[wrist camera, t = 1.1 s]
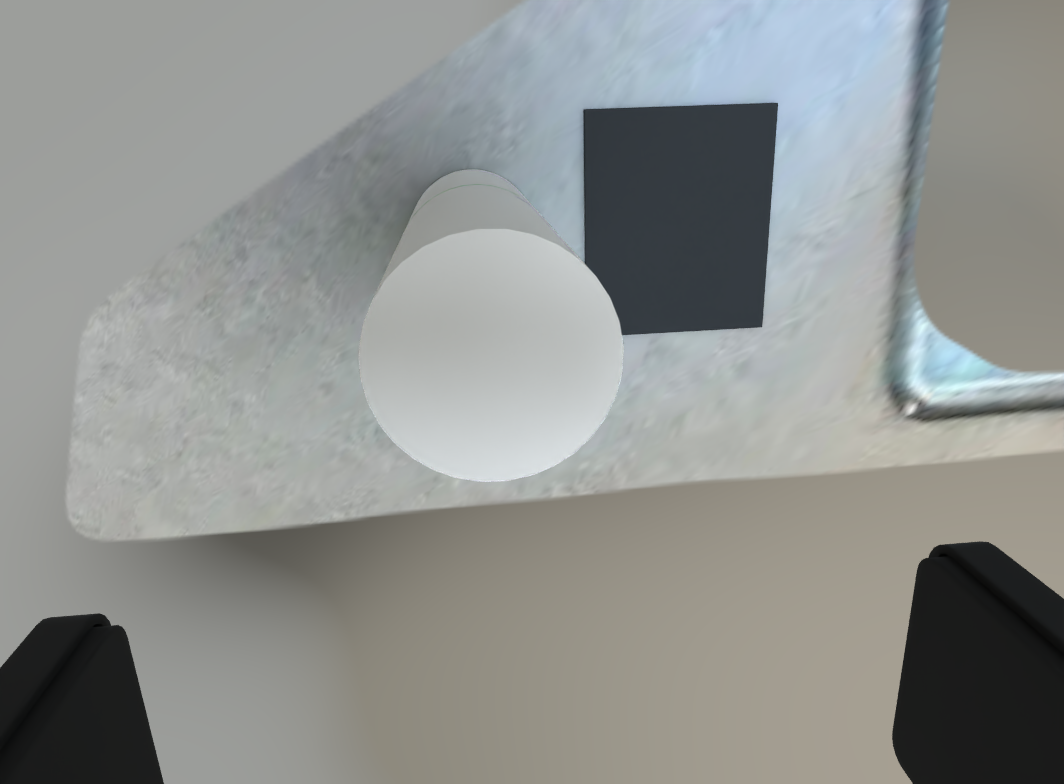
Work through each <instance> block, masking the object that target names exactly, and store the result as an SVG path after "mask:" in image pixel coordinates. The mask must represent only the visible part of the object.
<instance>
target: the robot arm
mask: <svg viewBox="0 0 1064 784" xmlns="http://www.w3.org/2000/svg"><path fill="white" fill-rule="evenodd" d="M910 614H911V615H910V620H909V627H908V633H907V640H906V647H905V653H904V660H903V666H902V673H901V680H900V686H899V692H898V699H897V706H896V712H895V719H894V726H893V734H892V735H893V736H892V740H893V747H894V750H895V754H896V756H897V759H898V761H899V763H900V765H901V767H902V768H903V770H904V771H905V773H906V774H907V776H908V777H909V778H910V780H911V781H912V783H913V784H1064V599H1063V598H1062V597H1061V596H1059V595H1058V594H1057V593H1055V592H1054V591H1053V590H1052V589H1050V588H1049V587H1048V586H1046V585H1045V584H1044V583H1042V582H1041V581H1040V580H1039V579H1037V578H1036V577H1035V576H1033V575H1032V574H1031V573H1029V572H1028V571H1027V570H1026V569H1024V568H1023V567H1022V566H1021V565H1019V564H1018V563H1017V562H1015V561H1014V560H1013V559H1011V558H1010V557H1009V556H1007V555H1006V554H1005V553H1004V552H1002V551H1001V550H1000V549H999V548H997V547H996V546H994V545H992V544H991V543H989V542H969V543H957V544H945V545H938V546H936V547H935V548H934V549H933V550H932V551H931V553H930V555H929V558H925V559H923V560H922V561H921V562H920V563H919V565H918V569H917V574H916V581H915V587H914V594H913V601H912V607H911V613H910ZM0 784H164V783H163V778H162V775H161V770H160V766H159V762H158V758H157V754H156V750H155V746H154V742H153V738H152V735H151V730H150V726H149V722H148V718H147V714H146V710H145V706H144V702H143V698H142V694H141V690H140V686H139V682H138V678H137V674H136V670H135V666H134V662H133V658H132V654H131V650H130V645H129V641H128V637H127V635H126V632H125V630H124V629H123V628H122V627H121V626H119V625H114V626H111V624H110V621H109V620H108V619H107V618H106V616H105V615H102V614H88V615H76V616H63V617H51V618H47V619H43V620H42V621H41V622H40V623H38V624H37V625H36V626H35V628H34V629H33V630H32V631H31V632H30V634H29V635H28V636H27V637H26V638H25V639H24V641H23V642H22V643H21V644H20V646H18V648H17V649H16V650H15V651H14V652H13V654H12V655H11V656H10V657H9V658H8V659H7V661H6V662H5V663H4V664H3V665H2V667H1V668H0Z"/></svg>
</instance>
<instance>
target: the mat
mask: <svg viewBox="0 0 1064 784" xmlns="http://www.w3.org/2000/svg"><path fill="white" fill-rule="evenodd" d="M777 110H778V103H763V104H734V105H704V106H674V107H645V108H615V109H586V110H584V181H585V265H586V266H587V267H588V268H589V269H590V270H591V271H592V272H593V273H594V275H595V276H596V277H597V278H598V280H599V281H600V283H601V284H602V286H603V287H604V289H605V291H606V292H607V294H608V295H609V297H610V299H611V301H612V304H613V306H614V309H615V311H616V314H617V316H618V319H619V321H620V327H621V334H622V335H631V334H649V333H666V332H684V331H701V330H719V329H737V328H754V327H762V321H763V307H764V293H765V279H766V265H767V251H768V237H769V223H770V209H771V195H772V181H773V167H774V153H775V138H776V124H777Z"/></svg>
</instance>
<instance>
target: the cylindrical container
mask: <svg viewBox="0 0 1064 784" xmlns="http://www.w3.org/2000/svg"><path fill="white" fill-rule="evenodd" d="M623 351H624V346H623V340H622V334H621V327H620V321H619V319H618V316H617V314H616V311H615V309H614V306H613V304H612V301H611V299H610V297H609V295H608V294H607V292H606V291H605V289H604V287H603V286H602V284H601V283H600V281H599V280H598V278H597V277H596V276H595V275H594V273H593V272H592V271H591V270H590V269H589V268H588V267H587V266H586V265H585V263H584V262H583V261H582V260H581V259H580V258H579V257H578V256H577V255H576V254H575V252H574V251H573V250H572V249H571V248H570V247H569V246H568V245H567V244H566V242H565V241H564V240H563V239H562V238H561V237H560V236H559V235H558V233H557V232H556V231H555V230H554V229H553V228H552V227H551V226H550V224H549V223H548V222H547V221H546V220H545V219H544V218H543V217H542V216H541V214H540V213H539V212H538V211H537V210H536V209H535V208H534V207H533V206H532V205H531V203H530V202H529V201H528V200H527V199H526V198H525V197H524V196H523V194H522V193H521V192H520V191H519V190H518V189H517V188H516V187H515V186H514V185H513V184H512V183H510V182H509V181H507V180H506V179H505V178H503V177H501V176H499V175H497V174H494V173H492V172H488V171H484V170H479V169H465V170H461V171H456V172H452V173H450V174H448V175H445V176H443V177H441V178H440V179H438V180H437V181H436V182H434V183H433V184H431V185H430V187H429V188H428V189H427V190H426V191H425V192H424V193H423V195H422V196H421V198H420V199H419V201H418V203H417V205H416V207H415V209H414V211H413V213H412V215H411V218H410V220H409V222H408V224H407V226H406V228H405V230H404V233H403V235H402V237H401V239H400V241H399V243H398V245H397V248H396V250H395V252H394V254H393V256H392V258H391V260H390V263H389V265H388V267H387V269H386V271H385V273H384V276H383V278H382V280H381V282H380V284H379V286H378V288H377V291H376V293H375V295H374V297H373V299H372V301H371V304H370V307H369V309H368V312H367V315H366V317H365V320H364V323H363V325H362V331H361V338H360V345H359V351H358V353H359V367H360V379H361V382H362V386H363V389H364V392H365V396H366V399H367V403H368V405H369V407H370V408H371V410H372V412H373V414H374V416H375V418H376V419H377V421H378V423H379V425H380V426H381V428H382V429H383V430H384V431H385V432H386V434H387V435H388V436H389V437H390V438H391V440H392V441H393V442H394V443H395V444H396V445H397V446H398V447H399V448H401V449H402V450H403V451H404V452H405V453H407V454H408V455H409V456H410V457H412V458H413V459H414V460H416V461H418V462H420V463H421V464H423V465H425V466H427V467H429V468H430V469H432V470H434V471H437V472H440V473H443V474H446V475H449V476H452V477H455V478H459V479H465V480H472V481H478V482H494V481H510V480H514V479H519V478H523V477H528V476H532V475H535V474H537V473H539V472H542V471H544V470H546V469H549V468H551V467H553V466H556V465H557V464H559V463H560V462H562V461H563V460H565V459H566V458H568V457H569V456H571V455H572V454H574V453H575V452H576V451H577V450H578V449H580V448H581V447H582V446H583V445H584V444H585V443H586V442H587V441H588V440H589V439H590V438H591V437H592V436H593V435H594V433H595V432H596V431H597V429H598V428H599V427H600V425H601V424H602V422H603V421H604V420H605V418H606V416H607V414H608V412H609V410H610V408H611V406H612V404H613V402H614V400H615V398H616V395H617V391H618V387H619V384H620V380H621V376H622V371H623Z"/></svg>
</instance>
